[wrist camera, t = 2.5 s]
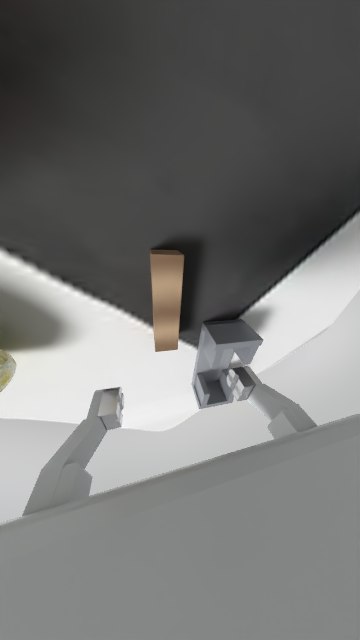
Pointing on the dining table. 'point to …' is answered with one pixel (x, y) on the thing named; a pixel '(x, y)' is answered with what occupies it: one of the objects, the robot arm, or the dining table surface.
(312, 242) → the dining table surface
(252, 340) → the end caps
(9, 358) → the lettuce
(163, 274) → the slat
